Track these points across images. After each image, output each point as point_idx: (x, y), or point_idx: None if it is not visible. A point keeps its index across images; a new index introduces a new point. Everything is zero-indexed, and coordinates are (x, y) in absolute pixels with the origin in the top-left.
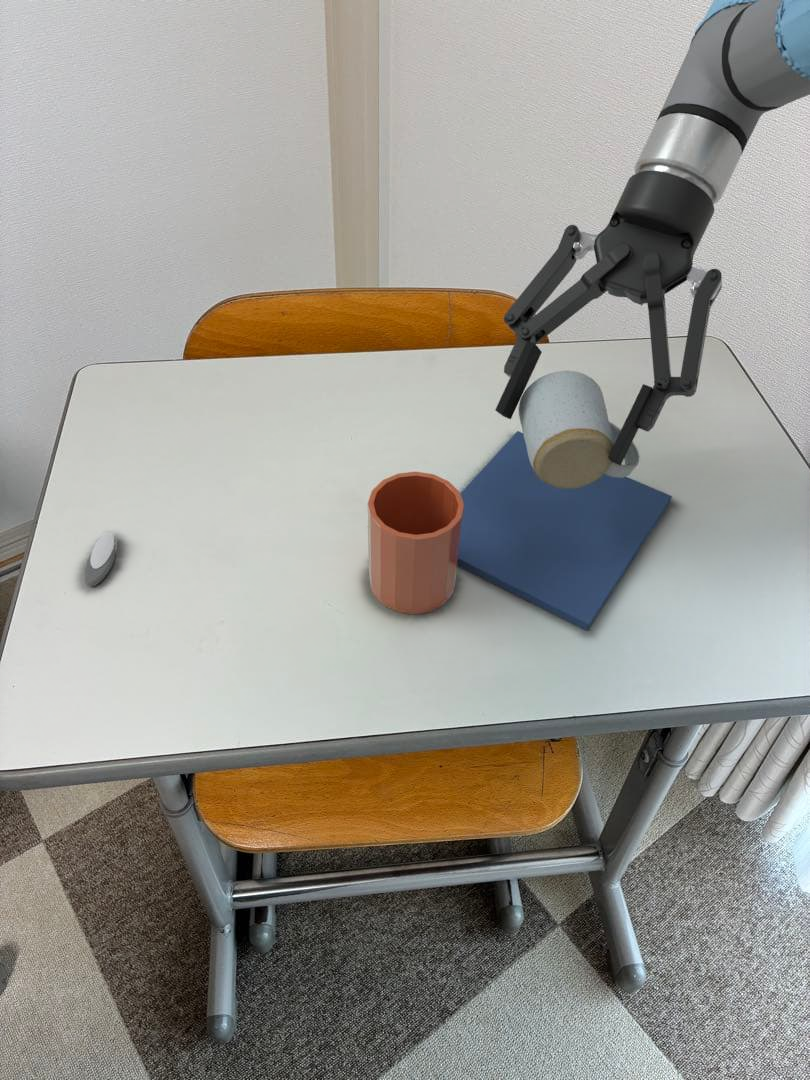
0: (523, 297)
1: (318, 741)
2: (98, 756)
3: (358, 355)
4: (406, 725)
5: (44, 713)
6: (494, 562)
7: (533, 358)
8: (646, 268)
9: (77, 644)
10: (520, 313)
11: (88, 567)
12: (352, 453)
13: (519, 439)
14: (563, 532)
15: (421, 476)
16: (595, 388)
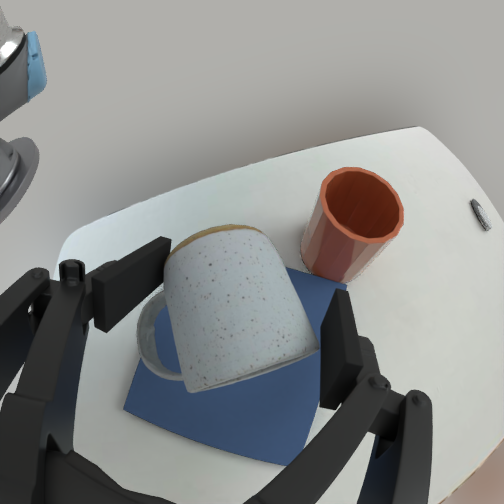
0: (424, 440)
1: (330, 142)
2: (404, 130)
3: (455, 485)
4: (292, 155)
5: (433, 143)
6: None
7: (331, 369)
8: (23, 500)
9: (451, 171)
10: (408, 410)
11: (480, 206)
12: (431, 371)
13: (291, 455)
14: None
15: (377, 238)
16: (197, 357)
